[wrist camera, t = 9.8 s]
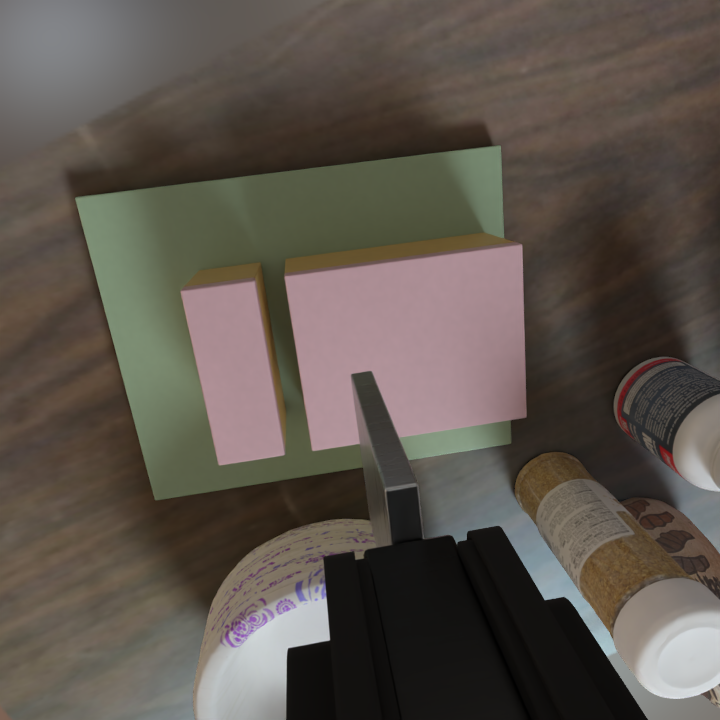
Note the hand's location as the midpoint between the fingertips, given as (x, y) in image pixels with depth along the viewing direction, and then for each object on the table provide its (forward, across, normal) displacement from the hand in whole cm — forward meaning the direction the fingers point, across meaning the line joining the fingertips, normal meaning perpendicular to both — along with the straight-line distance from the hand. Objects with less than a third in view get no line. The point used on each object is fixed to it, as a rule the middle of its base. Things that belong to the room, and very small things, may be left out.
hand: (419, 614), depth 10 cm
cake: (+21, -3, 0) cm, 21 cm away
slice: (+21, +5, 0) cm, 21 cm away
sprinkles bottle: (+22, -12, +12) cm, 27 cm away
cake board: (+22, +1, 0) cm, 22 cm away
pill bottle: (+22, -18, +8) cm, 29 cm away
